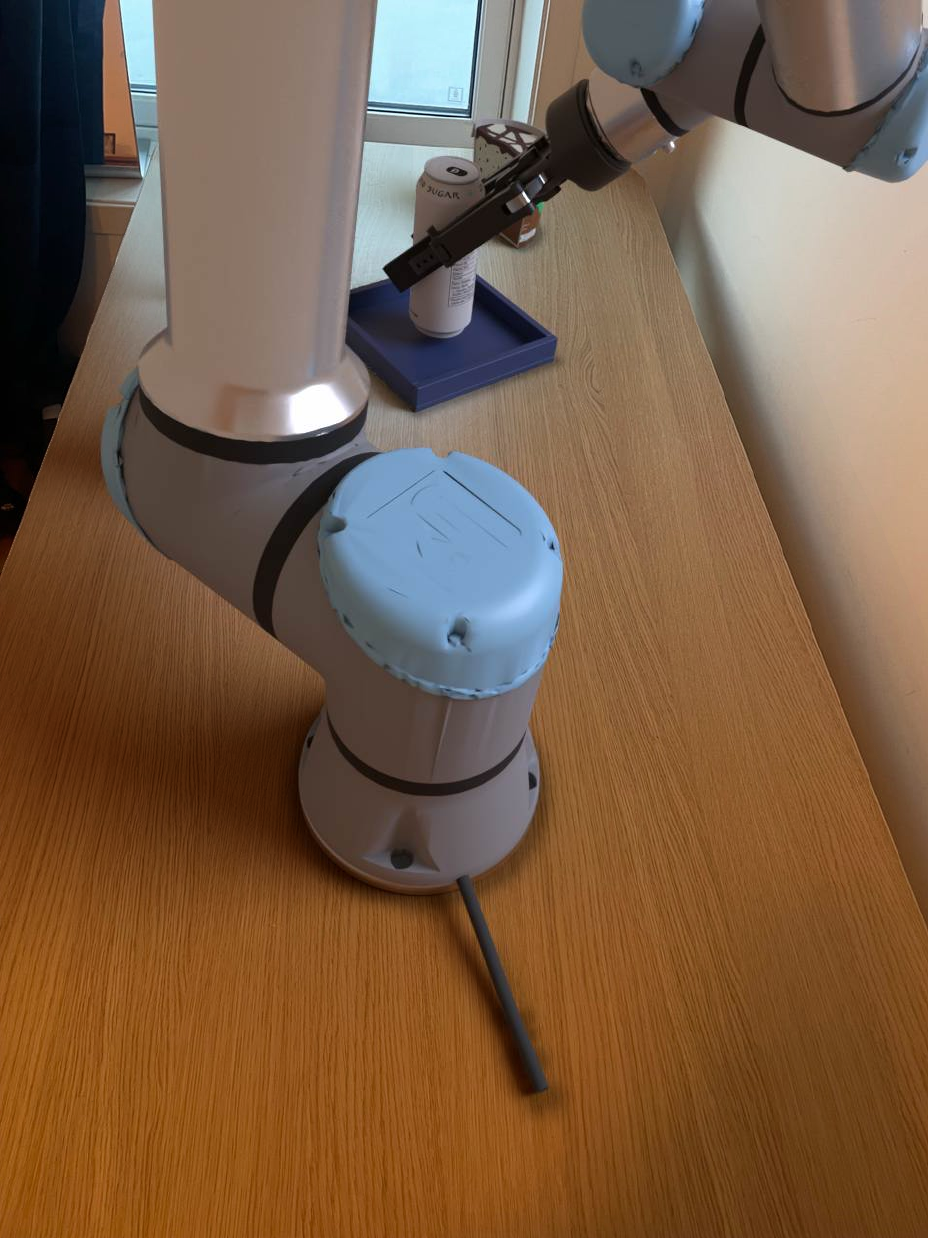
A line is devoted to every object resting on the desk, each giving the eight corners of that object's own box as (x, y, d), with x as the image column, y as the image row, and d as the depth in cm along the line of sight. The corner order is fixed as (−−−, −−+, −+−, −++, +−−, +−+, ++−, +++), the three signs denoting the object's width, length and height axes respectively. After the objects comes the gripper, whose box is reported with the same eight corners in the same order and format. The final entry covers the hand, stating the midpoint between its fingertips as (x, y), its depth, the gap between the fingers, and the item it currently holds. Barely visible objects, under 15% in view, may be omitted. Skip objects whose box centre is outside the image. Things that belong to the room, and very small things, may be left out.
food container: (567, 243, 108) (584, 154, 100) (525, 254, 105) (539, 164, 98) (505, 195, 114) (516, 108, 106) (464, 205, 111) (472, 117, 104)
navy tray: (553, 360, 93) (558, 337, 91) (415, 412, 85) (417, 388, 83) (454, 280, 100) (457, 257, 98) (320, 321, 93) (320, 297, 91)
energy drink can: (431, 299, 94) (442, 145, 82) (481, 321, 92) (500, 168, 81) (396, 325, 90) (403, 168, 79) (448, 348, 89) (462, 192, 77)
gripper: (606, 215, 68) (392, 346, 83) (662, 121, 80) (465, 250, 95) (549, 122, 65) (337, 276, 80) (616, 38, 77) (420, 185, 92)
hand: (407, 262), depth 88 cm, fingers closed on energy drink can, 6 cm apart
